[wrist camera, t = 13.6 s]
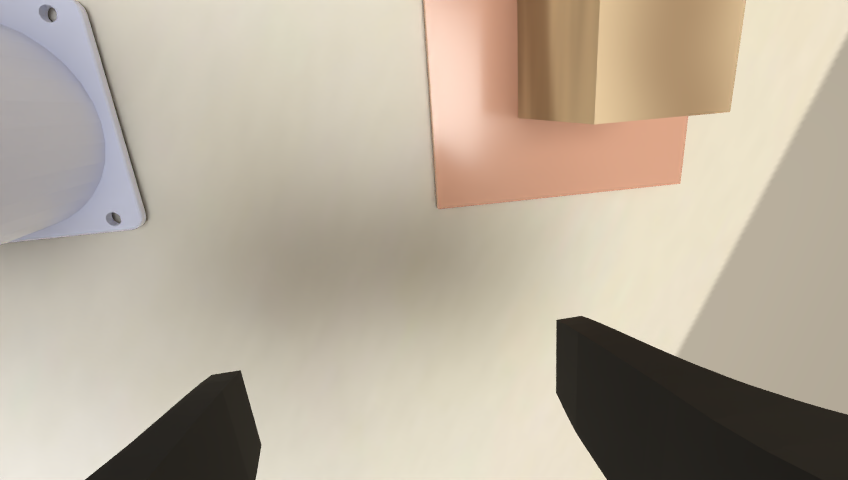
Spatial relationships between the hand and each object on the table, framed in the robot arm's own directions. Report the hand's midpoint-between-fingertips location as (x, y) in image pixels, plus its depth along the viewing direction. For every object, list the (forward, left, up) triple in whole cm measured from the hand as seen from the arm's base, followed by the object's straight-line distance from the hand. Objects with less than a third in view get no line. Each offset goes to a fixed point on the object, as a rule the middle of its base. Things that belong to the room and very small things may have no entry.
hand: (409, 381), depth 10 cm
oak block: (+8, +9, -9) cm, 15 cm away
